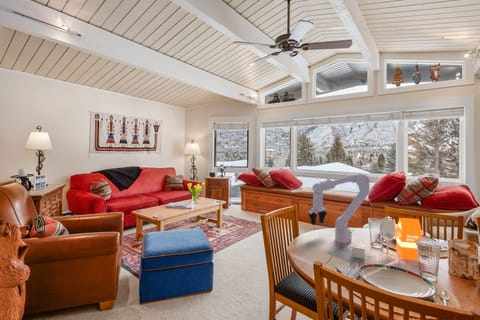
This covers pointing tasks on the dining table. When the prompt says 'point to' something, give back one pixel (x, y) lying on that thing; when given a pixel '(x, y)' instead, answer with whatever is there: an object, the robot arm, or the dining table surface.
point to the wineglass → (388, 230)
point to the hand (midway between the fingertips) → (317, 223)
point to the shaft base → (348, 255)
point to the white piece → (358, 251)
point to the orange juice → (408, 238)
